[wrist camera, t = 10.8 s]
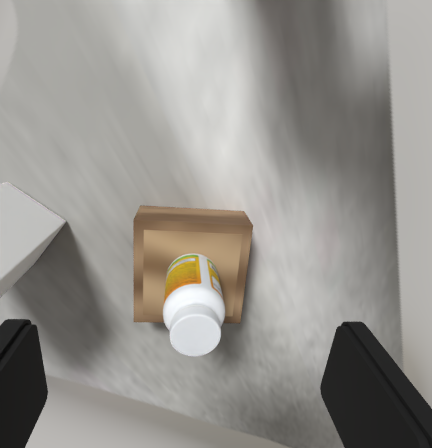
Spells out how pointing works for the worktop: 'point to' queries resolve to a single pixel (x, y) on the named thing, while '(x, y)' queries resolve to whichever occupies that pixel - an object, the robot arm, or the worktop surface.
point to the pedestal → (186, 244)
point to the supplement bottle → (193, 305)
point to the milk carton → (22, 233)
